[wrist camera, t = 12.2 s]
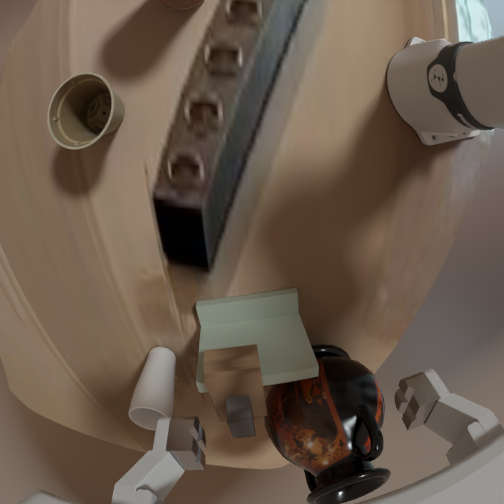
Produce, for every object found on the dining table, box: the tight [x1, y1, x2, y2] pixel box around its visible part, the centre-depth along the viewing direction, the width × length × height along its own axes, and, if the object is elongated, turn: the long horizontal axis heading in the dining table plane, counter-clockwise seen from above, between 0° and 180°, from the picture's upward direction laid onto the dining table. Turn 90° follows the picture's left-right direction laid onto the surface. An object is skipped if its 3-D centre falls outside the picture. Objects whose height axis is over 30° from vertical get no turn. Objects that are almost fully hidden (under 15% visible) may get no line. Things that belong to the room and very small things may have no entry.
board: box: [196, 288, 319, 393], centre depth 41 cm, size 16×6×14 cm, turn 97°
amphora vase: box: [264, 345, 391, 504], centre depth 41 cm, size 22×22×28 cm
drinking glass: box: [128, 347, 176, 430], centre depth 43 cm, size 7×7×15 cm
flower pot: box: [47, 72, 125, 150], centre depth 29 cm, size 9×9×9 cm
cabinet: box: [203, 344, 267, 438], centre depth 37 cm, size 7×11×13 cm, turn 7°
